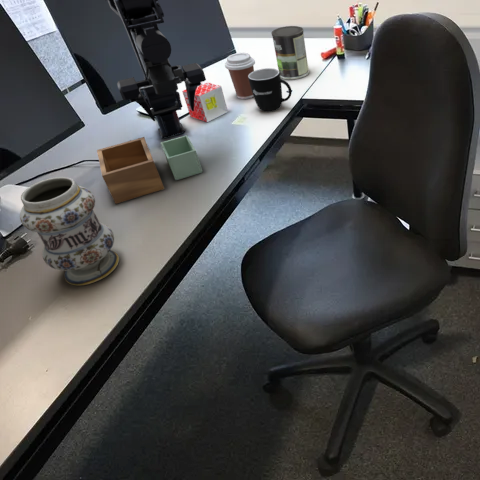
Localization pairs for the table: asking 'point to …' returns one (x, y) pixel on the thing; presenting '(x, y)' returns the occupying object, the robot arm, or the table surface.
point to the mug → (267, 89)
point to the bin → (181, 157)
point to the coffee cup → (241, 73)
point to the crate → (129, 170)
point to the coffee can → (290, 52)
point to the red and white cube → (207, 102)
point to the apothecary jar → (69, 230)
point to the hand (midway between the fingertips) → (173, 115)
